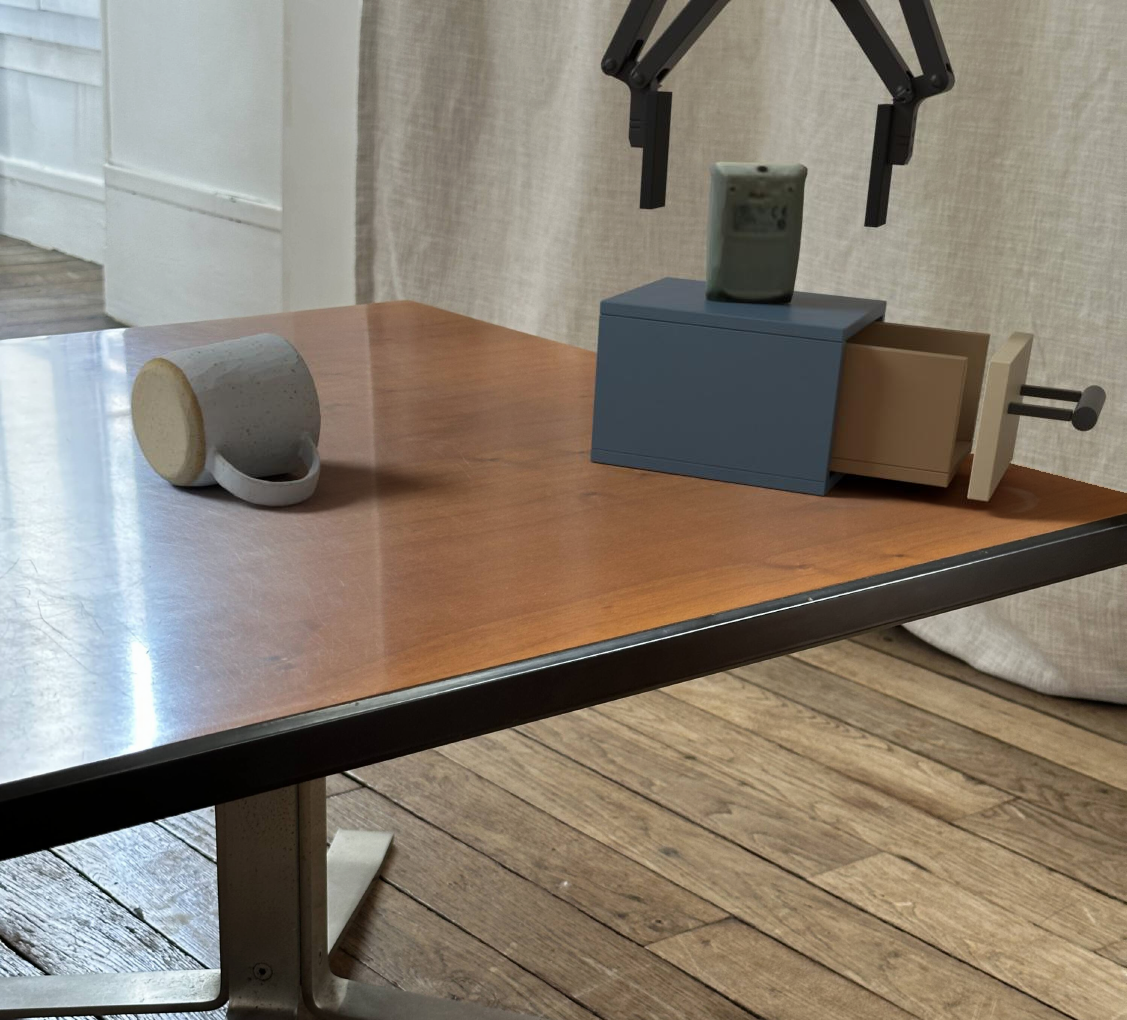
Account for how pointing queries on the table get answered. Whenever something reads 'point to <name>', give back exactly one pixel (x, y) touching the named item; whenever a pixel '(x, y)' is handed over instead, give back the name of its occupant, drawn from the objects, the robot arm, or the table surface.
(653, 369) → the cabinet
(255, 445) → the ceramic mug
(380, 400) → the table surface
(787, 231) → the grey electronic device
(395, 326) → the table surface
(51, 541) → the table surface
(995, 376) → the drawer
